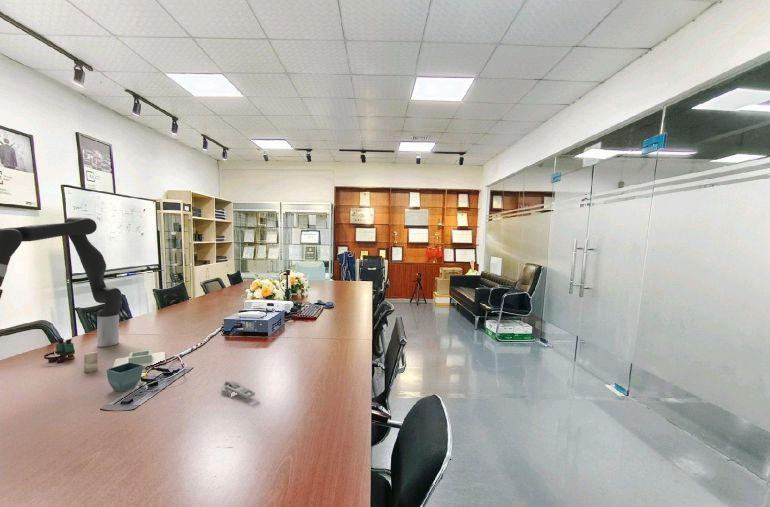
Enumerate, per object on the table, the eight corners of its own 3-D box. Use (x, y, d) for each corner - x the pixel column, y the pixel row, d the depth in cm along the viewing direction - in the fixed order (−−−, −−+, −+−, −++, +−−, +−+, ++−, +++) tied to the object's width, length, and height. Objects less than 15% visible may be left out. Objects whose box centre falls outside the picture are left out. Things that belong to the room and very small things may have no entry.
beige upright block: (85, 370, 140) (85, 353, 140) (98, 368, 143) (98, 351, 143) (83, 373, 137) (83, 356, 137) (96, 371, 140) (96, 354, 139)
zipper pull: (242, 406, 114) (242, 395, 114) (216, 392, 124) (216, 382, 124) (260, 397, 121) (260, 387, 121) (234, 385, 131) (234, 375, 131)
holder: (115, 360, 152) (115, 352, 152) (164, 353, 164) (164, 345, 164) (111, 373, 138) (111, 363, 138) (165, 364, 150) (165, 355, 150)
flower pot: (143, 385, 127) (143, 365, 127) (119, 395, 119) (119, 373, 119) (129, 382, 130) (130, 361, 130) (105, 391, 122) (105, 369, 122)
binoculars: (38, 344, 144) (62, 336, 154) (41, 365, 146) (64, 355, 156) (54, 345, 144) (77, 337, 153) (57, 366, 145) (80, 357, 155)
